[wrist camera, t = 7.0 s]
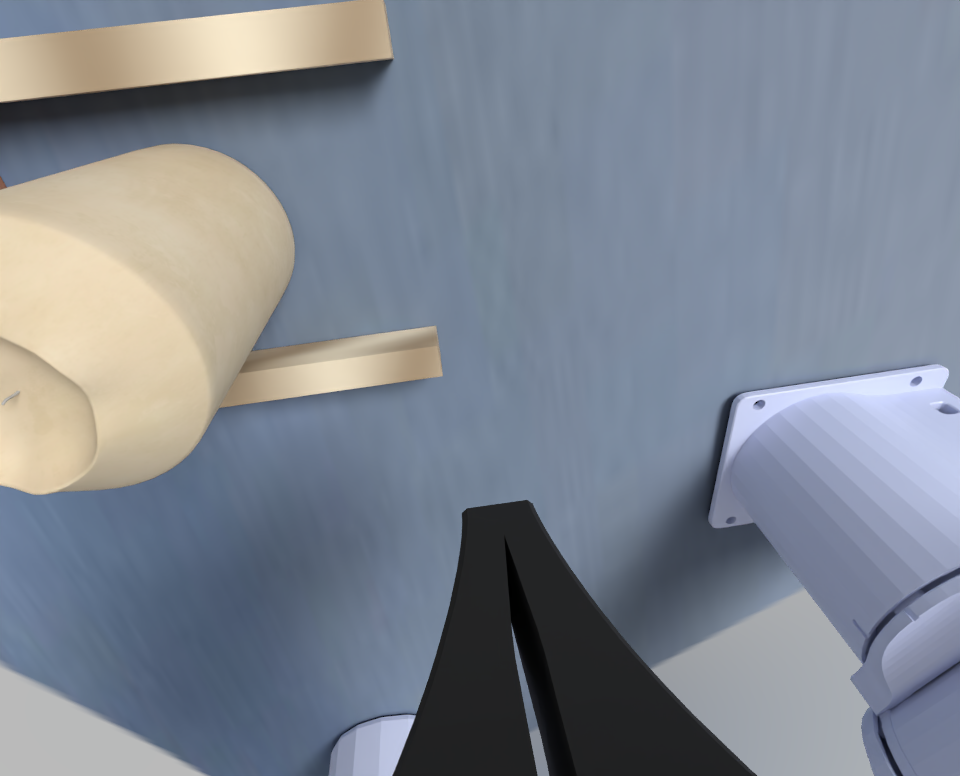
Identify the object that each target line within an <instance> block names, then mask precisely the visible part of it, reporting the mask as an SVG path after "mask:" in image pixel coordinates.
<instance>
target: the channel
mask: <svg viewBox="0 0 960 776" xmlns="http://www.w3.org/2000/svg"><path fill="white" fill-rule="evenodd" d="M389 59H394V57H393V50H392V44H391V38H390V31H389V25H388V19H387V12H386V6H385V3H384V0H358V1H349V2H340V3H330V4H321V5H312V6H302V7H293V8H284V9H274V10H265V11H256V12H246V13H237V14H228V15H218V16H209V17H200V18H190V19H181V20H172V21H162V22H153V23H144V24H134V25H125V26H116V27H106V28H97V29H88V30H78V31H69V32H60V33H50V34H41V35H32V36H22V37H13V38H4V39H0V103H8V102H17V101H26V100H35V99H43V98H52V97H61V96H70V95H79V94H88V93H97V92H105V91H114V90H123V89H132V88H141V87H150V86H159V85H167V84H176V83H185V82H194V81H203V80H212V79H221V78H229V77H238V76H247V75H256V74H265V73H274V72H283V71H292V70H300V69H309V68H318V67H327V66H336V65H345V64H354V63H362V62H371V61H380V60H389ZM5 188H7V187H6V186H5V184H4V182H3V180H2V179H1V177H0V190H1V189H5ZM439 376H443V374H442V365H441V355H440V349H439V342H438V336H437V330H436V326H431V327H424V328H416V329H409V330H402V331H395V332H387V333H380V334H373V335H366V336H358V337H351V338H344V339H336V340H329V341H322V342H315V343H307V344H300V345H293V346H286V347H278V348H271V349H264V350H257V351H251V352H250V354H249V356H248V357H247V359H246V361H245V363H244V364H243V366H242V368H241V370H240V371H239V373H238V375H237V377H236V378H235V380H234V382H233V384H232V386H231V387H230V389H229V391H228V393H227V394H226V396H225V398H224V400H223V401H222V403H221V405H220V407H219V408H222V407H229V406H236V405H243V404H250V403H257V402H264V401H271V400H278V399H285V398H292V397H299V396H306V395H313V394H320V393H327V392H334V391H341V390H348V389H355V388H362V387H369V386H376V385H383V384H390V383H397V382H404V381H411V380H418V379H425V378H432V377H439Z"/></svg>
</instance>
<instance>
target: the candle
mask: <svg viewBox="0 0 960 776" xmlns="http://www.w3.org/2000/svg"><path fill="white" fill-rule="evenodd" d="M294 260H295V244H294V236H293V232H292V228H291V225H290V222H289V219H288V217H287V214H286V212H285V211H284V209H283V207H282V205H281V203H280V202H279V200H278V199H277V197H276V196H275V194H274V193H273V192H272V190H271V189H270V188H269V187H268V186H267V185H266V183H265V182H264V181H263V180H261V179H260V178H259V177H258V176H257V175H256V174H255V173H254V172H252V171H251V170H250V169H249V168H247V167H246V166H245V165H243V164H241V163H240V162H238V161H236V160H235V159H233V158H231V157H229V156H227V155H225V154H222V153H220V152H218V151H214V150H211V149H208V148H205V147H200V146H194V145H187V144H163V145H158V146H153V147H149V148H145V149H140V150H136V151H133V152H129V153H126V154H122V155H119V156H115V157H112V158H108V159H105V160H101V161H98V162H95V163H91V164H88V165H84V166H81V167H77V168H74V169H70V170H67V171H63V172H60V173H57V174H53V175H50V176H46V177H43V178H39V179H36V180H32V181H29V182H25V183H22V184H19V185H15V186H12V187H8V188H5V189H1V190H0V485H2V486H6V487H10V488H15V489H18V490H20V491H23V492H26V493H30V494H34V495H41V494H50V493H55V492H65V491H89V490H104V489H113V488H121V487H125V486H130V485H134V484H138V483H141V482H144V481H147V480H150V479H153V478H155V477H157V476H159V475H161V474H163V473H165V472H167V471H169V470H170V469H172V468H173V467H175V466H176V465H178V464H179V463H180V462H182V461H183V460H184V459H185V458H186V457H187V456H188V455H189V454H190V453H191V452H192V451H193V449H194V448H195V447H196V445H197V444H198V443H199V441H200V440H201V438H202V436H203V435H204V433H205V431H206V429H207V428H208V426H209V424H210V422H211V421H212V419H213V417H214V415H215V414H216V412H217V410H218V408H219V407H220V405H221V403H222V401H223V400H224V398H225V396H226V394H227V393H228V391H229V389H230V387H231V386H232V384H233V382H234V380H235V378H236V377H237V375H238V373H239V371H240V370H241V368H242V366H243V364H244V363H245V361H246V359H247V357H248V356H249V354H250V352H251V350H252V349H253V347H254V345H255V343H256V342H257V340H258V338H259V336H260V334H261V333H262V331H263V329H264V327H265V326H266V324H267V322H268V320H269V319H270V317H271V315H272V313H273V312H274V310H275V308H276V306H277V305H278V303H279V301H280V299H281V297H282V295H283V293H284V291H285V289H286V287H287V285H288V283H289V281H290V278H291V275H292V272H293V267H294Z"/></svg>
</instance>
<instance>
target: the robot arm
mask: <svg viewBox="0 0 960 776" xmlns="http://www.w3.org/2000/svg"><path fill="white" fill-rule="evenodd" d="M948 375H949V371H948V369H946V368H945V367H943V366H941V365H939V364H935V365H928V366H921V367H914V368H908V369H901V370H894V371H887V372H881V373H874V374H867V375H860V376H854V377H847V378H840V379H833V380H827V381H820V382H813V383H806V384H800V385H793V386H786V387H779V388H773V389H766V390H759V391H752V392H746V393H742V394H740V395H738V396H737V397H736V398H735V399H734V401H733V403H732V407H731V411H730V416H729V421H728V426H727V431H726V435H725V440H724V445H723V450H722V454H721V459H720V464H719V469H718V474H717V478H716V483H715V488H714V493H713V498H712V502H711V507H710V512H709V517H708V521H709V523H710V524H711V525H712V527H714V528H724V527H731V526H737V525H743V524H749V523H755V524H756V525H757V526H758V527H759V529H760V530H761V531H762V533H763V534H764V535H765V537H766V538H767V539H768V541H769V542H770V543H771V544H772V546H773V547H774V548H775V550H776V551H777V552H778V554H779V555H780V556H781V558H782V559H783V560H784V562H785V563H786V564H787V565H788V567H789V568H790V569H791V571H792V572H793V573H794V575H795V576H796V577H797V579H798V580H799V581H800V583H801V584H802V585H803V586H804V588H805V589H806V590H807V592H808V593H809V594H810V596H811V597H812V598H813V600H814V601H815V602H816V604H817V605H818V606H819V607H820V609H821V610H822V611H823V613H824V614H825V615H826V617H827V618H828V619H829V621H830V622H831V623H832V624H833V626H834V627H835V628H836V630H837V631H838V632H839V634H840V635H841V636H842V638H843V639H844V640H845V642H846V643H847V644H848V646H849V647H850V648H851V649H852V651H853V652H854V653H855V654H856V656H857V657H858V658H859V660H860V661H861V663H862V664H863V666H862V667H861V668H860V669H859V670H858V671H857V672H856V673H855V674H854V675H853V676H851V681H852V682H853V684H854V685H855V687H856V688H857V689H858V691H859V692H860V694H861V695H862V696H863V698H864V699H865V700H866V702H867V703H868V704H869V706H870V708H868V709H867V711H866V712H865V714H864V716H863V718H862V726H861V729H862V736H863V742H864V746H865V749H866V753H867V756H868V758H869V761H870V764H871V768H872V771H873V774H874V776H960V398H958V397H957V396H955V395H953V394H952V393H950V392H948V391H947V390H945V389H943V386H944V384H945V382H946V380H947V378H948ZM757 401H759V402H758V403H756V404H754V403H755V402H757ZM511 623H512V627H513V631H514V635H515V638H516V642H517V646H518V650H519V654H520V658H521V662H522V665H523V669H524V673H525V677H526V681H527V685H528V688H529V692H530V696H531V700H532V704H533V708H534V711H535V715H536V719H537V723H538V727H539V730H540V734H541V738H542V743H543V747H544V752H545V756H546V760H547V765H548V771H549V776H757V775H756V774H755V773H753V772H752V771H751V770H750V769H749V768H748V767H747V766H746V765H745V764H744V763H743V762H742V761H741V760H740V759H739V758H738V757H737V756H736V755H735V754H734V753H733V752H731V751H730V749H728V748H727V747H726V746H725V745H724V744H723V743H722V742H721V741H720V740H719V739H718V738H717V737H716V736H715V735H714V734H713V733H712V732H711V731H710V730H709V729H708V728H707V727H706V726H705V725H703V723H702V722H700V721H699V720H698V719H697V718H696V717H695V716H694V715H693V714H692V713H691V712H690V711H689V710H688V709H687V708H686V707H685V705H684V704H683V703H682V702H681V701H680V700H679V699H678V698H677V697H676V696H675V695H674V694H673V693H672V692H671V691H670V690H669V689H668V688H667V687H666V686H665V685H664V683H663V682H662V681H661V680H660V679H659V678H658V677H657V676H656V675H655V674H654V672H653V671H652V670H651V669H650V668H649V667H648V666H647V665H646V664H645V662H644V661H643V660H642V659H641V658H640V657H639V656H638V655H637V653H636V652H635V651H634V650H633V649H632V648H631V646H630V645H629V644H628V643H627V642H626V640H625V639H624V638H623V637H622V636H621V634H620V633H619V632H618V631H617V630H616V628H615V627H614V626H613V625H612V623H611V622H610V621H609V620H608V618H607V617H606V616H605V615H604V613H603V612H602V611H601V609H600V608H599V607H598V606H597V604H596V603H595V602H594V600H593V599H592V598H591V596H590V595H589V594H588V592H587V591H586V589H585V588H584V587H583V585H582V584H581V582H580V581H579V580H578V578H577V577H576V575H575V574H574V573H573V571H572V570H571V568H570V567H569V565H568V564H567V562H566V561H565V559H564V558H563V556H562V555H561V553H560V552H559V550H558V549H557V547H556V545H555V544H554V542H553V541H552V539H551V537H550V536H549V534H548V532H547V531H546V529H545V527H544V525H543V524H542V522H541V520H540V518H539V516H538V514H537V512H536V510H535V508H534V506H533V504H532V503H531V502H529V501H528V500H524V501H517V502H510V503H502V504H495V505H488V506H481V507H474V508H467V509H466V510H465V511H464V512H463V513H462V539H461V548H460V555H459V561H458V568H457V573H456V578H455V582H454V587H453V592H452V597H451V601H450V606H449V610H448V614H447V618H446V621H445V625H444V628H443V632H442V636H441V639H440V643H439V646H438V650H437V654H436V657H435V660H434V663H433V666H432V670H431V673H430V676H429V679H428V682H427V685H426V688H425V691H424V694H423V697H422V699H421V702H420V705H419V708H418V711H417V714H416V716H415V719H414V722H413V724H412V727H411V730H410V732H409V735H408V737H407V740H406V742H405V745H404V748H403V750H402V753H401V755H400V758H399V760H398V763H397V765H396V768H395V770H394V773H393V775H392V776H537V771H536V765H535V760H534V755H533V750H532V745H531V739H530V734H529V729H528V724H527V719H526V713H525V708H524V703H523V697H522V692H521V687H520V681H519V676H518V671H517V665H516V660H515V653H514V645H513V637H512V627H511Z"/></svg>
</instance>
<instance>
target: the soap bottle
mask: <svg viewBox="0 0 960 776" xmlns="http://www.w3.org/2000/svg"><path fill="white" fill-rule="evenodd" d="M415 716H416V715H398V716H388V717H381V718H378V719H374V720H371V721H368V722H365V723H362V724H358V725H357V726H355V727H354V728H352V729H351V730H349V731H347V732H346V733H344V734H343V735H341V737H340V739H339V740H338V742H337V743H336V745H335V747H334V748H333V751H332V753H331V761H330V769H329V776H392V775H393V773H394V770H395V768H396V765H397V763H398V760H399V758H400V755H401V753H402V750H403V748H404V745H405V742H406V740H407V737H408V735H409V732H410V730H411V727H412V724H413V722H414V719H415Z"/></svg>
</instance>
